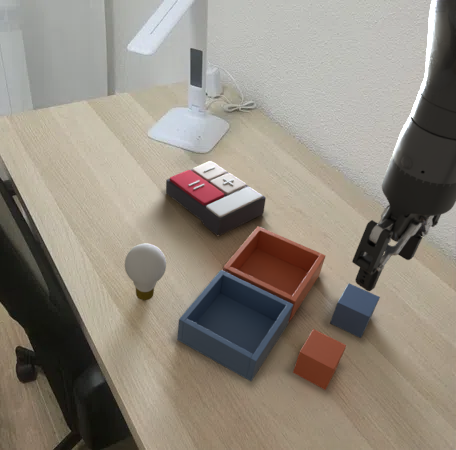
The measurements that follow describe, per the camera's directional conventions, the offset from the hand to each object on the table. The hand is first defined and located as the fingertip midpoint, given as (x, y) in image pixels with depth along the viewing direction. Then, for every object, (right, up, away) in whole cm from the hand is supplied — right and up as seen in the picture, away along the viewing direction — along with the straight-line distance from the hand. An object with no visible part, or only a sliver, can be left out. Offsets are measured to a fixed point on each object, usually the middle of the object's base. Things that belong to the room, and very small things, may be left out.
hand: (384, 270), depth 67 cm
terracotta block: (-7, -14, +7) cm, 17 cm away
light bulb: (-30, -5, +15) cm, 34 cm away
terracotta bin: (-10, -3, +19) cm, 21 cm away
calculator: (-17, +9, +33) cm, 39 cm away
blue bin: (-17, -10, +11) cm, 22 cm away
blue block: (0, -8, +13) cm, 16 cm away
